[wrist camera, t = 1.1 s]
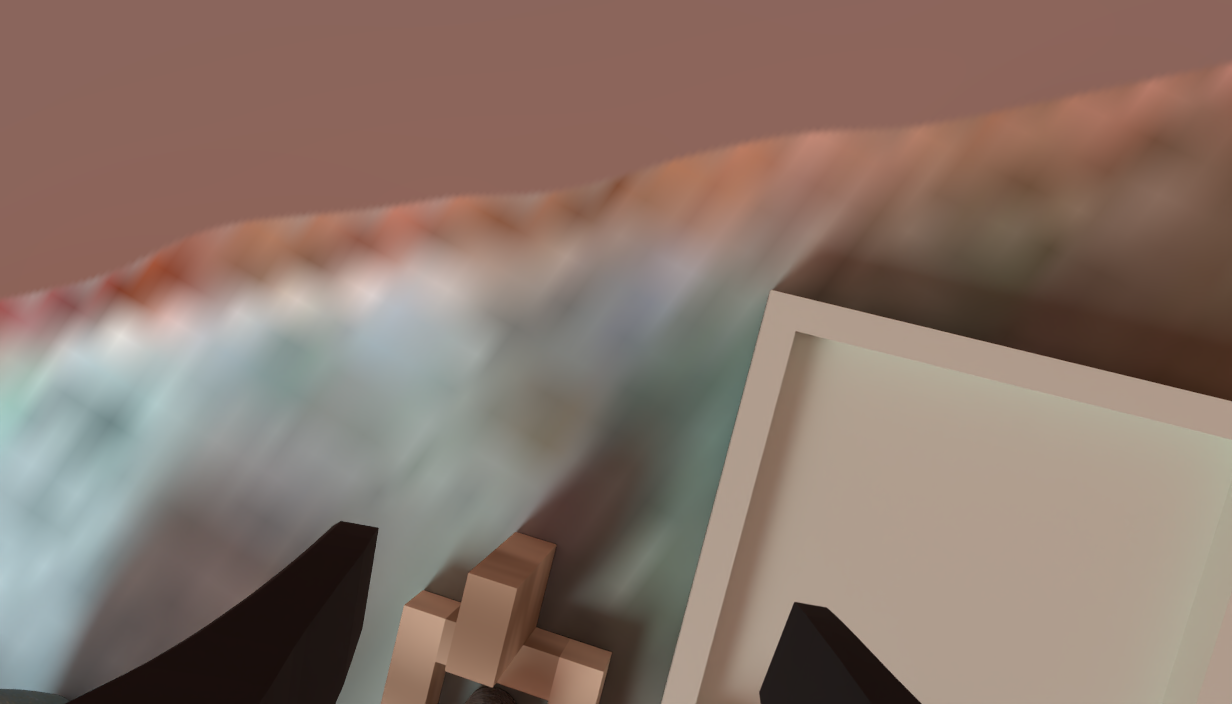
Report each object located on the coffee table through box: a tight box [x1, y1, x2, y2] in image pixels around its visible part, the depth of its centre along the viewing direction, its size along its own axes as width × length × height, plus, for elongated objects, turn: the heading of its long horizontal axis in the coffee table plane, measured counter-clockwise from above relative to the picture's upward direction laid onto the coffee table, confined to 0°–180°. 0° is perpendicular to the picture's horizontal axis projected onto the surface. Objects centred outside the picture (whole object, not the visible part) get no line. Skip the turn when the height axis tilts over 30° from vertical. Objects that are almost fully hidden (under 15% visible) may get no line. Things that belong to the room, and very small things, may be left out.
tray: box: [661, 290, 1232, 704], centre depth 23 cm, size 15×15×2 cm
